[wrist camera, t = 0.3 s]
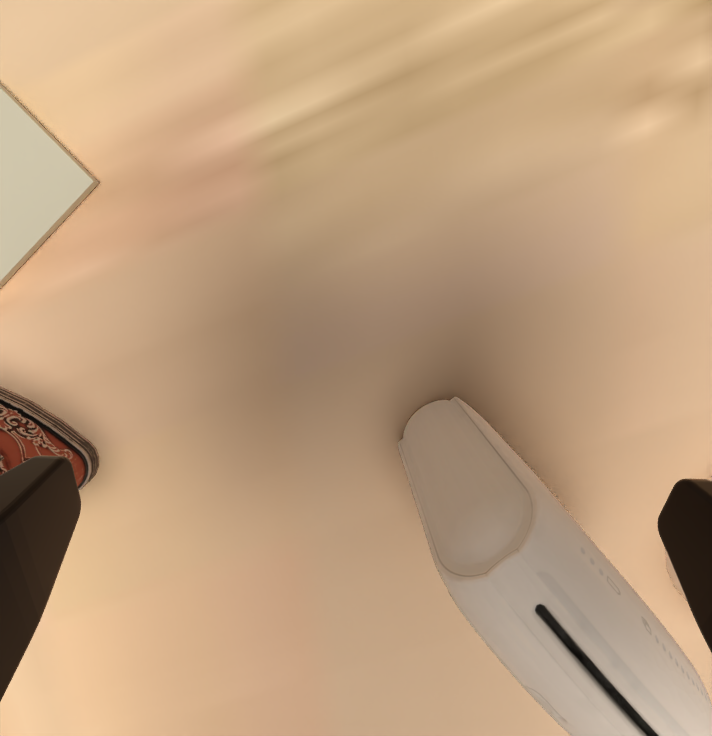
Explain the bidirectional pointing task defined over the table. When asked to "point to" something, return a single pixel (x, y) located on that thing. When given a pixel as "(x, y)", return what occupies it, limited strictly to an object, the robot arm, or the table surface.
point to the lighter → (41, 438)
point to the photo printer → (543, 586)
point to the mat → (33, 185)
